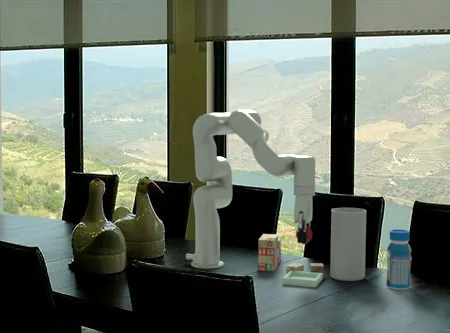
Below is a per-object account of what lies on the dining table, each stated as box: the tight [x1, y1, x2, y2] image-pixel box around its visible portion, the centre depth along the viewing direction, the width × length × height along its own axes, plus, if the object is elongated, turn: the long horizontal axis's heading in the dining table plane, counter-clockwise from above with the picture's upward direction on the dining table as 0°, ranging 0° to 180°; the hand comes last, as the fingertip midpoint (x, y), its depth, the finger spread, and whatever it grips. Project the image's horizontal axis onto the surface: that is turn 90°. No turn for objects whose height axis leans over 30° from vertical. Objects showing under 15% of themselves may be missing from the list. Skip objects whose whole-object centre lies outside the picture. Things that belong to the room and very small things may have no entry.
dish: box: [282, 271, 324, 288], centre depth 258 cm, size 12×12×2 cm
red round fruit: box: [295, 222, 313, 246], centre depth 256 cm, size 6×6×8 cm
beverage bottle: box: [386, 228, 412, 291], centre depth 250 cm, size 8×8×20 cm
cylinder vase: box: [329, 207, 367, 282], centre depth 264 cm, size 12×12×25 cm
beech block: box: [285, 262, 305, 275], centre depth 268 cm, size 4×6×4 cm, turn 145°
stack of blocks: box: [257, 233, 282, 272], centre depth 285 cm, size 21×6×12 cm, turn 169°
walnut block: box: [309, 262, 325, 274], centre depth 266 cm, size 4×4×4 cm
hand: (303, 240), depth 256 cm, fingers closed on red round fruit, 5 cm apart
